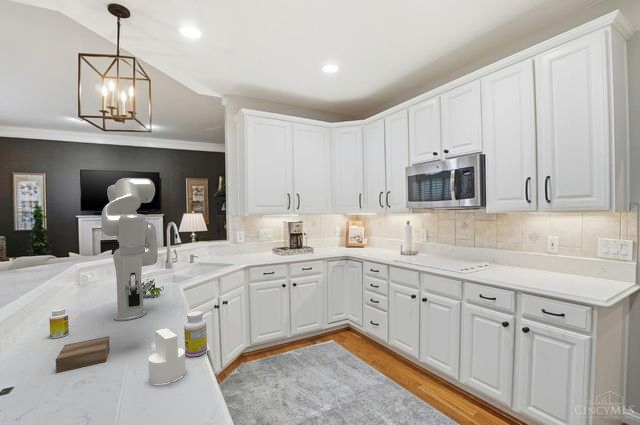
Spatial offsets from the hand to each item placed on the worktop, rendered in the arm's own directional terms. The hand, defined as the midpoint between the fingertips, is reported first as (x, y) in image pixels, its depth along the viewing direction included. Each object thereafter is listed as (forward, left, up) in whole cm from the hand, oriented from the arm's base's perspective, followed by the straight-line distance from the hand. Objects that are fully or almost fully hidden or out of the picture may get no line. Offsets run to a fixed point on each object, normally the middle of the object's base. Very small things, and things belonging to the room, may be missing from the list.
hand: (134, 303), depth 105 cm
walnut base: (0, -14, -15) cm, 21 cm away
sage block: (0, 0, -2) cm, 2 cm away
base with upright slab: (+27, +8, -16) cm, 33 cm away
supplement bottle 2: (+16, +17, -16) cm, 28 cm away
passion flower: (-76, +6, -16) cm, 78 cm away
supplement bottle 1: (-31, -26, -16) cm, 43 cm away
